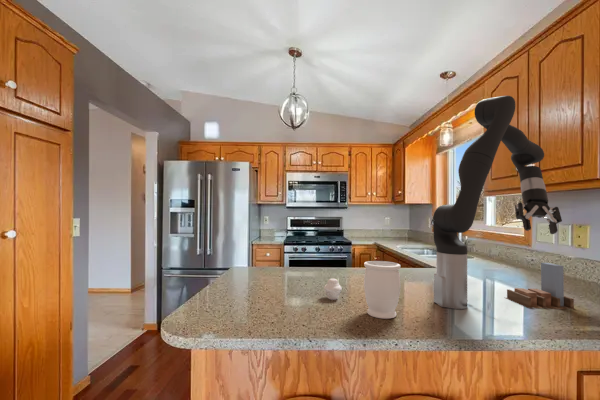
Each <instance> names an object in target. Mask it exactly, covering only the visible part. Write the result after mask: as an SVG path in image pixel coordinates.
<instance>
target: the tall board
mask: <svg viewBox="0 0 600 400" xmlns="http://www.w3.org/2000/svg"><path fill="white" fill-rule="evenodd" d="M564 274H565V273H564V265H560V264H556V263H550V262H540V281H541V282H540V287H541V288H540V290H542V291H545V292H548V293H551V296H554V297H557V298H560V306H564V296H565V290H564V289H565V285H564V282H565V281H564V280H565V279H564Z"/></svg>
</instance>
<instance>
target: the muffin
mask: <svg viewBox="0 0 600 400" xmlns="http://www.w3.org/2000/svg"><path fill="white" fill-rule="evenodd" d="M323 290H324V292H325V295H326V297H327V298H328V300H330V301H331V300H332V301H333V300H334V301H335V300H338V299H339V296H340V295H341V293H342V290H343V288H342V285H340V283H339V280H338V279H336V278H329V279H328V280H327V283H326V284H325V285H324V287H323Z"/></svg>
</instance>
